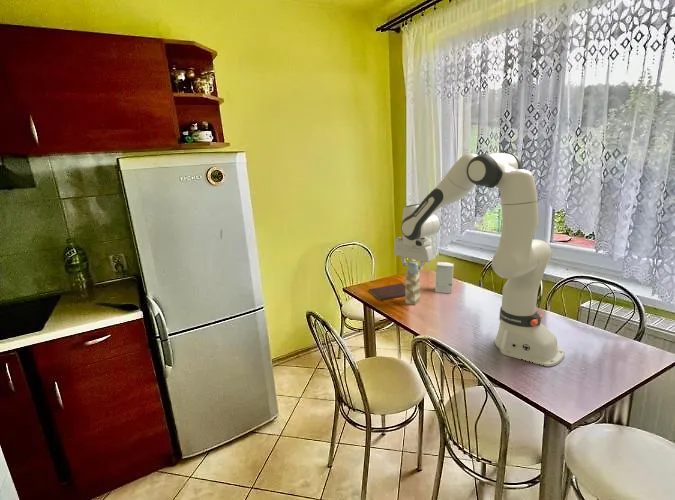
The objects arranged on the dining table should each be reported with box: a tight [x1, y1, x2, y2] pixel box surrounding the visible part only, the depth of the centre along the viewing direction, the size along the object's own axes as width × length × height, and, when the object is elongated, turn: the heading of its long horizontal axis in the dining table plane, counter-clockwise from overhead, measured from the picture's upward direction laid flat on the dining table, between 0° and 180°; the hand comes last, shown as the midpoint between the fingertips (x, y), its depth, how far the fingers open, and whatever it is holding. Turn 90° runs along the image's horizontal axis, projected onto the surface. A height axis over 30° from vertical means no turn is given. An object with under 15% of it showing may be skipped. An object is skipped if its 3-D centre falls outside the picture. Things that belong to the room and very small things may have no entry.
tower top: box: [405, 271, 421, 286], centre depth 175 cm, size 5×5×5 cm
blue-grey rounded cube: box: [406, 261, 419, 275], centre depth 174 cm, size 5×5×5 cm
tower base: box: [405, 292, 421, 306], centre depth 178 cm, size 5×5×5 cm
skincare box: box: [434, 261, 455, 294], centre depth 188 cm, size 8×6×15 cm
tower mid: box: [404, 282, 421, 295], centre depth 177 cm, size 5×5×5 cm
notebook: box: [368, 282, 406, 302], centre depth 192 cm, size 15×20×2 cm
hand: (412, 267), depth 174 cm, fingers open, 8 cm apart
